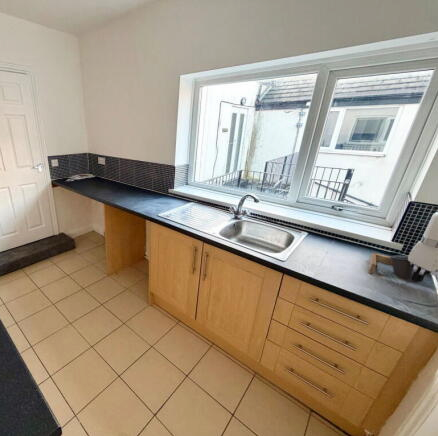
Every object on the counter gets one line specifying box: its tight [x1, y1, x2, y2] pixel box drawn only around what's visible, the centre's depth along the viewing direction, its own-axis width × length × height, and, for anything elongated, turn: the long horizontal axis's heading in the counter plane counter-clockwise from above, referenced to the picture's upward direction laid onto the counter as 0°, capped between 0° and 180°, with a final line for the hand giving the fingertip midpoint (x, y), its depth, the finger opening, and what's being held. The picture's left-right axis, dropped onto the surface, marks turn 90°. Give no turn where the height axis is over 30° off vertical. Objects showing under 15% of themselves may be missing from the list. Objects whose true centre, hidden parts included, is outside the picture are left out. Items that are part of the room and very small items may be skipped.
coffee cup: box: [389, 254, 414, 280], centre depth 109 cm, size 8×8×10 cm
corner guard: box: [367, 252, 393, 275], centre depth 115 cm, size 16×14×5 cm
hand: (415, 280), depth 104 cm, fingers closed
